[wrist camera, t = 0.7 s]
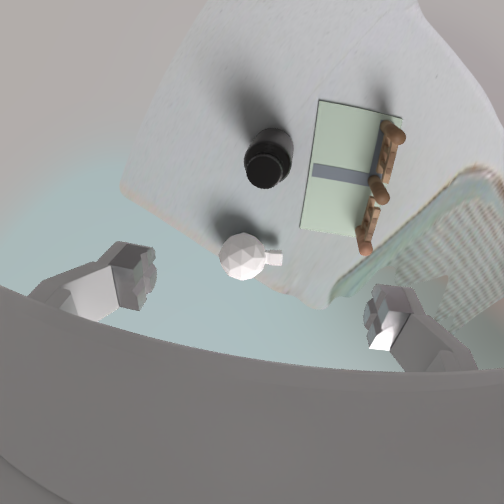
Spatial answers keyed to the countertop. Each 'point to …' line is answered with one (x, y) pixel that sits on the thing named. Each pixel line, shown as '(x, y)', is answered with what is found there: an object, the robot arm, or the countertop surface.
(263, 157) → the supplement bottle
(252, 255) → the perfume bottle
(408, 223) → the countertop surface
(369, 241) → the fence gate
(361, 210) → the mat
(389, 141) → the fence fixed
